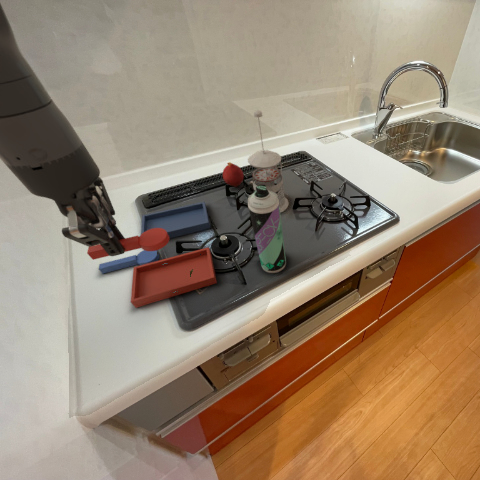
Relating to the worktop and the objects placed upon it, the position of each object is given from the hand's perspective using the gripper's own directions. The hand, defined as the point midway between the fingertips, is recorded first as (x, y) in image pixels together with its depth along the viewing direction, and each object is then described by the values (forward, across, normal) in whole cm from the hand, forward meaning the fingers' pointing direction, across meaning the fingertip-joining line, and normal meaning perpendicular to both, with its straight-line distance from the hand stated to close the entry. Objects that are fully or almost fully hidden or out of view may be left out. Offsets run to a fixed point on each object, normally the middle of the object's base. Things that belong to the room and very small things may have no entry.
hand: (118, 249), depth 44 cm
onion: (+14, -34, +22) cm, 43 cm away
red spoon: (0, 0, +2) cm, 2 cm away
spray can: (+14, 0, +24) cm, 28 cm away
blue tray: (+14, -22, +5) cm, 26 cm away
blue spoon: (+14, -12, -5) cm, 19 cm away
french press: (+14, -22, +30) cm, 40 cm away
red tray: (+14, -4, +4) cm, 15 cm away
